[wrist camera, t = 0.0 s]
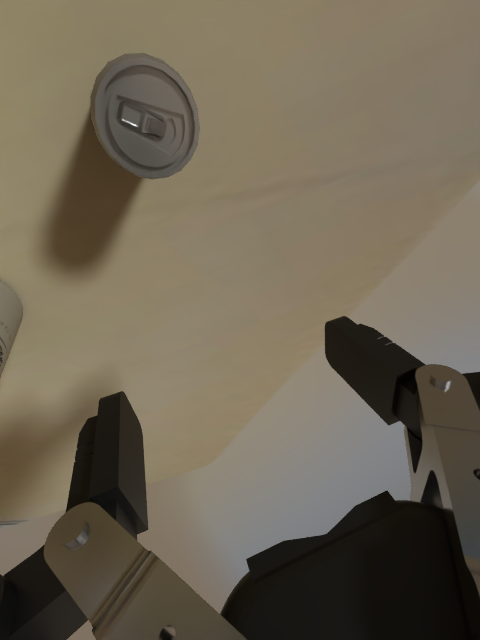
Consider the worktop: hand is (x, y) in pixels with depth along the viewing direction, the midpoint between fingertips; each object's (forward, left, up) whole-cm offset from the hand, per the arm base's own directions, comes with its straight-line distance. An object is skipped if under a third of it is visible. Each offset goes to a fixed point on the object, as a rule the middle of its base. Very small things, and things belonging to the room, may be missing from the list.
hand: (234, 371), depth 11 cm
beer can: (-6, -3, -23) cm, 24 cm away
